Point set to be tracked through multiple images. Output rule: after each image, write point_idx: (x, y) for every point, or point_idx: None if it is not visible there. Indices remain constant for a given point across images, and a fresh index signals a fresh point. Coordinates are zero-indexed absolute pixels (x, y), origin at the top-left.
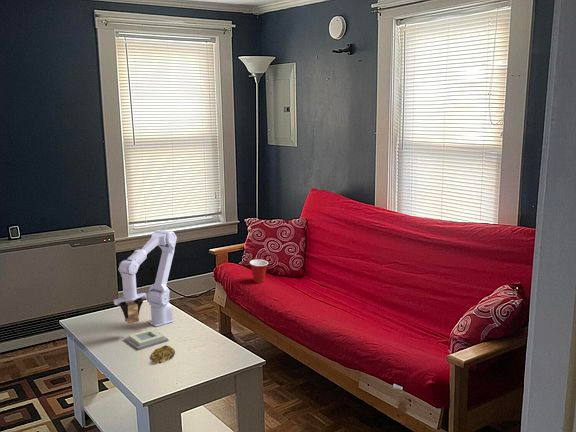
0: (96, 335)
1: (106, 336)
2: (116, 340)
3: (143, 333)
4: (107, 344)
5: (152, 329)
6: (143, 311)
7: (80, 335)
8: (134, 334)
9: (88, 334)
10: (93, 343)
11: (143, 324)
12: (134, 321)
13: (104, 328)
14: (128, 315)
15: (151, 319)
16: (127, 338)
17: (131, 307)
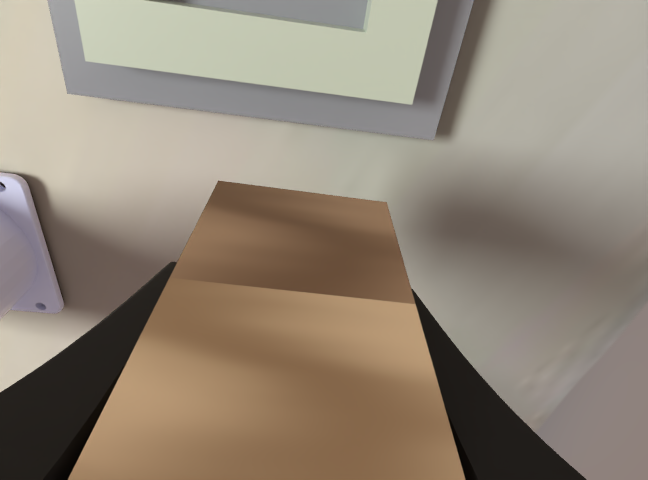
0: (487, 357)
1: (461, 303)
2: (478, 181)
3: (243, 13)
4: (591, 164)
5: (85, 31)
6: None
7: (538, 411)
8: (352, 71)
9: (501, 396)
10: (618, 265)
11: (117, 297)
12: (294, 197)
13: None
14: (412, 300)
15: (17, 292)
16: (426, 97)
17: (335, 473)
